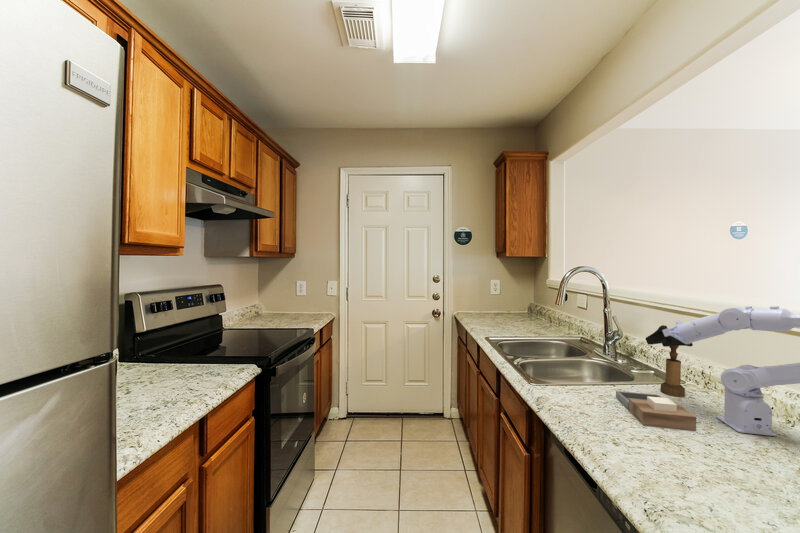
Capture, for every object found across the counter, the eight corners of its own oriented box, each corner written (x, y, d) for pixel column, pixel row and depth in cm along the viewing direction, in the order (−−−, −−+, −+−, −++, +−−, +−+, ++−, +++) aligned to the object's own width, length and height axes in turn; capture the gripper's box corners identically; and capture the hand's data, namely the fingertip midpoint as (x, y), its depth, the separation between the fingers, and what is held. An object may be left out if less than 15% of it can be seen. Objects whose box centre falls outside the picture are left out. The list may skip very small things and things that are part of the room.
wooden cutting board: (696, 430, 91) (696, 417, 91) (643, 425, 94) (643, 411, 94) (675, 414, 101) (676, 402, 101) (628, 410, 104) (628, 398, 104)
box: (675, 414, 101) (675, 407, 101) (627, 409, 104) (628, 402, 104) (658, 401, 111) (658, 394, 111) (615, 397, 114) (616, 390, 114)
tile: (676, 412, 94) (676, 404, 94) (655, 410, 95) (655, 402, 95) (667, 405, 99) (667, 398, 99) (646, 403, 100) (647, 396, 100)
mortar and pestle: (689, 397, 115) (690, 342, 114) (666, 395, 116) (668, 341, 116) (677, 390, 121) (679, 338, 121) (656, 389, 122) (657, 336, 122)
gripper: (708, 318, 108) (664, 332, 119) (679, 313, 102) (635, 328, 113) (719, 341, 104) (672, 353, 115) (690, 336, 99) (643, 349, 110)
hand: (654, 342), depth 114 cm, fingers open, 7 cm apart
